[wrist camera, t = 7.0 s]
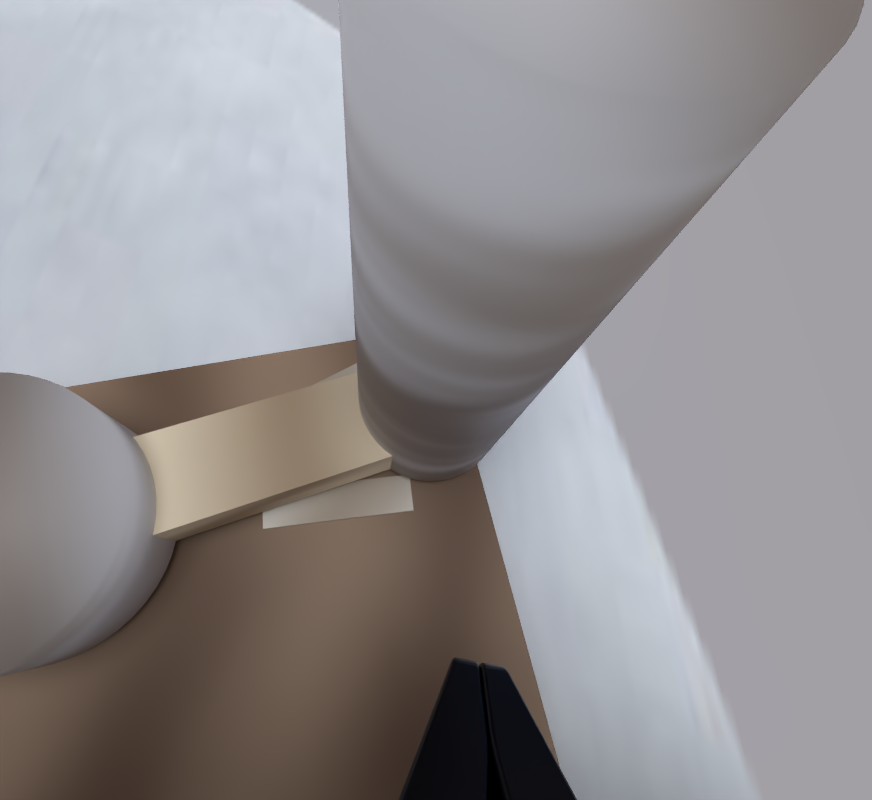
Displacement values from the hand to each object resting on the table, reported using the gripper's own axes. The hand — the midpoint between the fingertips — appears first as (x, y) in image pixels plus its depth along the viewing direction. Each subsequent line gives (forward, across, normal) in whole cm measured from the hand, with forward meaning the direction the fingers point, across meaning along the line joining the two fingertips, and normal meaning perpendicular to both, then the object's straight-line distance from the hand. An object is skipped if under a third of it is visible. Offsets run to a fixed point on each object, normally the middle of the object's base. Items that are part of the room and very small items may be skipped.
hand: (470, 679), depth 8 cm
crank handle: (+6, +6, +2) cm, 9 cm away
